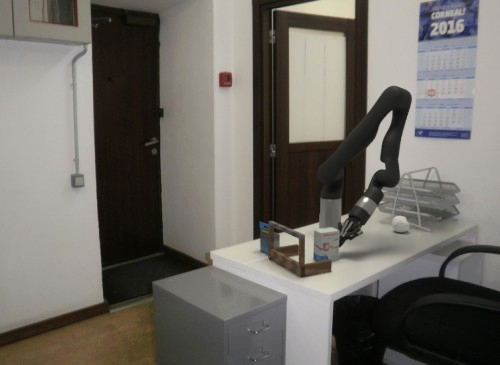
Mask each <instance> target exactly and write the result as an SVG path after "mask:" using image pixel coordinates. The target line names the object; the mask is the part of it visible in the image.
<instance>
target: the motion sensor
mask: <svg viewBox="0 0 500 365" xmlns="http://www.w3.org/2000/svg"><path fill="white" fill-rule="evenodd" d="M391 220H392V221H391V226H392V229H393V230H394V231H395V232H397V233H399V234H400V233H401V234H402V233H406V232H407V231H408V230H409V229H410V226H411V224H410V222H408V220H407V217H406V216H402V215H395V217H393V219H391Z"/></svg>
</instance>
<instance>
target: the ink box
mask: <svg viewBox="0 0 500 365" xmlns="http://www.w3.org/2000/svg"><path fill="white" fill-rule="evenodd" d="M339 234H340V231H339V230H337V229H335V228H333V227H330V228H321V229H319V228H316V229H314V230H313V255H312V256H313V260H314V261H315V262H318V261H323V260H328V259H329V260H331V261H332V262H334V261H339V260H340V257H339V256H340V247H339Z"/></svg>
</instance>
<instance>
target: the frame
mask: <svg viewBox="0 0 500 365" xmlns="http://www.w3.org/2000/svg"><path fill="white" fill-rule="evenodd" d="M267 224H268V227H267V228H268V230H269V254H268V260H270V261H272V262H274V263H275V264H277V265H279V266H280V267H282V268H284V269H285V270H287V271H289V272H291V273H292V274H294V275H296V276H297V277H300V278H306V277H311V276H315V275H321V273H322V274H325V273H326V272H327V273H331V272H332V263H333V261H331V260H329V259H328V260H323V261H313V262H308V263H306V235H305V234H303V233H301V232H299V231H297V230H295V229H292V228H290V227H288V226H285V225H283V224H280V223H278V222H276V221H273V220H268V223H267ZM275 229H276V230H279V231H280V232H283V233H285V234H287V235H290V236H291V237H294V238H296V239H298V243H294V244H289V245H284V246H280V247H276V248H274V232H275ZM296 256H298V261H297V260H296V259H293V258H291V257H296Z"/></svg>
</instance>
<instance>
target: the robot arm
mask: <svg viewBox="0 0 500 365" xmlns="http://www.w3.org/2000/svg"><path fill="white" fill-rule="evenodd" d="M412 100H413V96H412V94H411V92H410V91H408V90H407V89H405V88H402V87H401V86H398V85H390V86H388V87H386V88H385V89H384V90H383V91H382V93H381V94H380V95H379V97H378V98H377V100H376V101H375V103H374V104H373V106H372V107H371V108H370V109H369V111H368V112H367V113H366V114H365V116H364V117H362V119H361V120H360V121H359V122H358V124H357V125H355V127H354V128H353V129H352V130H351V131H350V132H349V134H348V135H347V136H346V138H345V139H344V140H343V142H341V144H340V145H339V146H338V147H337V149H336V150H335V152H333V153H332V155H330V156H329V157H328V158H327V159H326V160H325V161H324V162H323V163H322V164H321V165H320V166H319V167H318V170H317V178H318V180H319V182H321V183H322V184H324V185H323V188H322V190H321V191H320V208H319V209H320V210H319V211H320V213H319V216H318V218H319V220H318V229H321V228H330V227H333V228H335V229H337V230H339V231H340V234H339V248H341V247H342V246H344V243H345V242H346V241H348V240H349V241H352V240H354V239H355V238H357V237H359V236H362V235H363V234H364V232H363V231H362V227H364V226H366V224H367V222H368V221H369V220H370V218H371V217H372V215H373V214H374V213H375V211H376V209H377V208H378V206H379V205H380V204H381V202H382V201H383V199H384V197H385V194H384V192H383V191H382V190H383V188H388V189H394V188H396V187H397V186H398V184H399V183H400V179H401V172H400V162H399V158H400V157H399V156H400V151H401V143H402V137H403V134H404V130H405V125H406V123H407V120H408V116H409V112H410V109H411V106H412V102H413V101H412ZM390 113H391V120H390V124H389V127H388V128H387V131H386V133H385V134H384V137H383V139H382V142H381V149H380V155H379V161H380V162H381V163H383V164H384V165H385V166H384V167H385V169H382V168H381V169H378V170H377V171H375V172H374V174H373V175H372V176H371V179H370V181H369V183H368V186H367V189H366V190H365V191H364V193H363V194H362V196H361V197H360V198H359V199H358V200H357V202H356V203H355V204H354V205H353V207H352V208H351V210H349V212H348V214H347V216H348V217H347V218H346V219H345V220H344V222H343V221H342V196H343V191H344V186H345V185H344V182H345V170H344V167H346V166H347V165H348V163H350V162H351V161H353V160H354V159H355V158H357V157H358V156H360V155H361V154H362V153H363V152H364V151H365V150H367V148H368V147H369V146H370V145H372V143H373V142H374V140H375V139H376V137H377V136H378V135H377V134H378V132H379V129H380V125H381V124H382V121H383V120H384V119H385V118H386V117H387V116H388V114H390Z"/></svg>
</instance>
